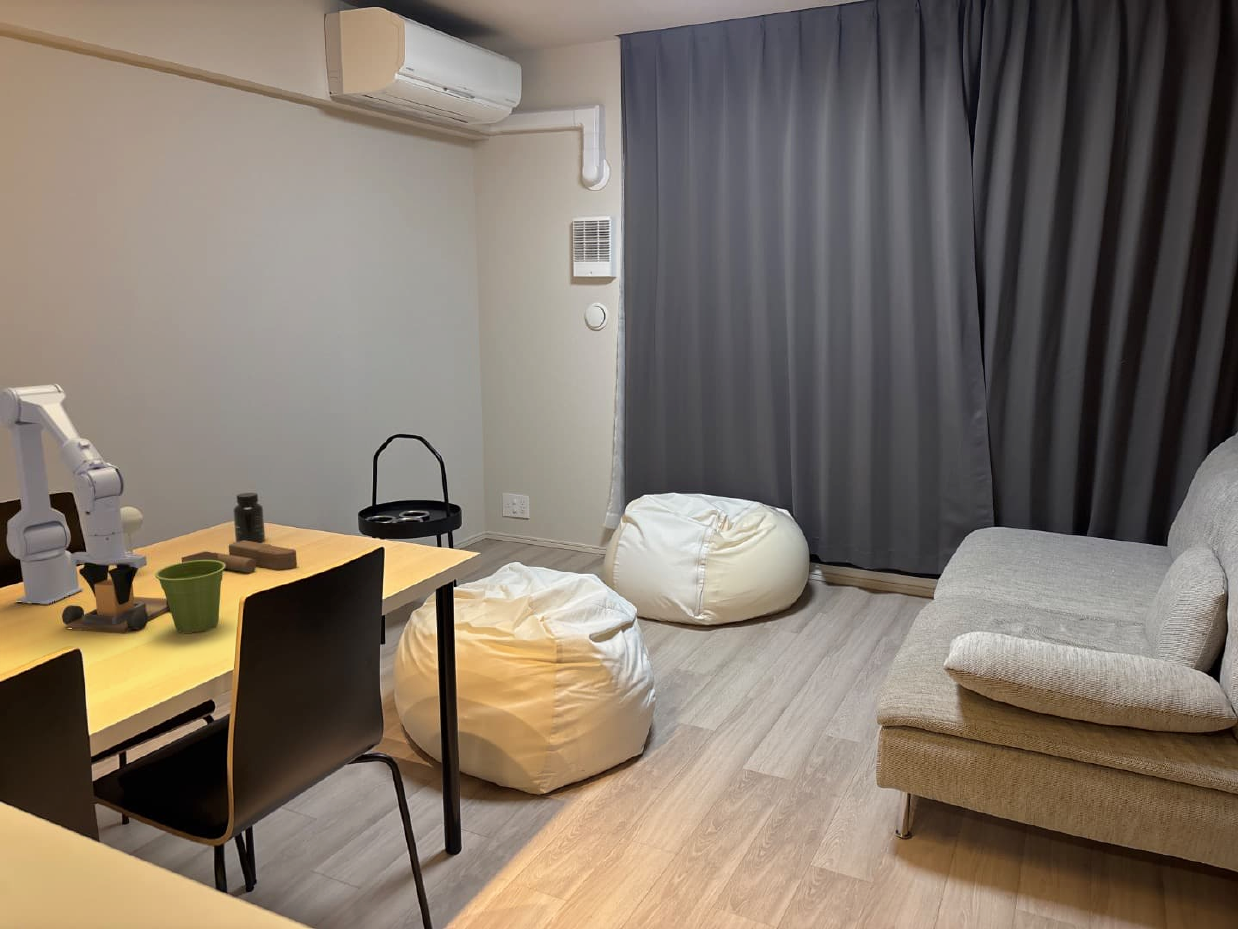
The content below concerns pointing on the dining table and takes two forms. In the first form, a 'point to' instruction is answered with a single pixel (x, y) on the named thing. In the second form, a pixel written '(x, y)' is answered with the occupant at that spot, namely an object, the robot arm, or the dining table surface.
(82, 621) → the chassis board
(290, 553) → the wooden block set
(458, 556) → the dining table surface
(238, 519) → the supplement bottle
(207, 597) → the plant pot
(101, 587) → the tan wooden cube
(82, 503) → the robot arm
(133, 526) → the lollipop
